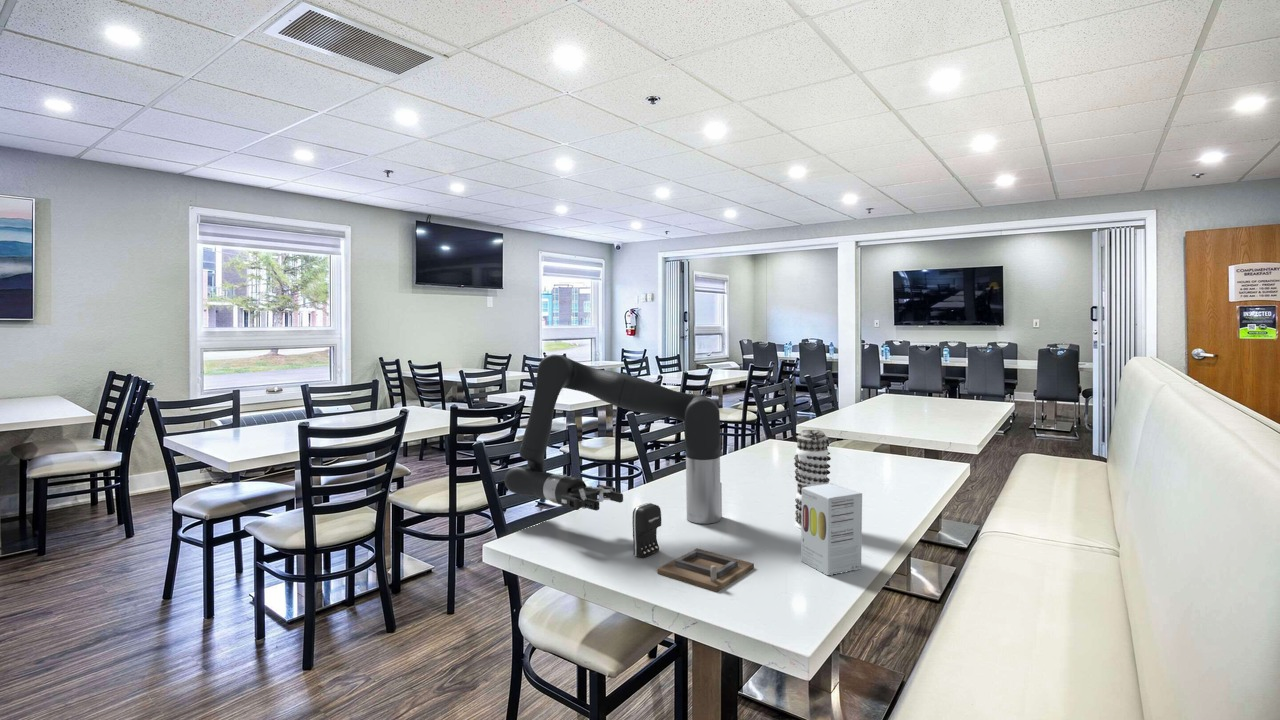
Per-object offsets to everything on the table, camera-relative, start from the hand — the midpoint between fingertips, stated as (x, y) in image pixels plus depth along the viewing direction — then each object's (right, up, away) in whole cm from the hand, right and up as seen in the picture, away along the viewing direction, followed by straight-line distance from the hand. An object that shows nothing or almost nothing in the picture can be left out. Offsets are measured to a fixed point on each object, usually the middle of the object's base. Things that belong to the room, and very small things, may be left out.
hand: (610, 502), depth 149 cm
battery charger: (+9, -11, -6) cm, 16 cm away
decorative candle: (+52, -9, +11) cm, 54 cm away
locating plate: (+21, -11, -17) cm, 29 cm away
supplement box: (+49, -11, -15) cm, 52 cm away
